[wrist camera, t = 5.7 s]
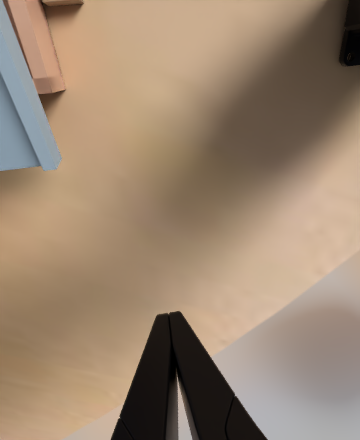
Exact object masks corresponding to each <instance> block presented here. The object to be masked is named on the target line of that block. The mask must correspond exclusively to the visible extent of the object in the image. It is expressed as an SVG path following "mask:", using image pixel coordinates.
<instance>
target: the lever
mask: <svg viewBox="0 0 360 440" xmlns="http://www.w3.org/2000/svg"><path fill="white" fill-rule="evenodd" d="M61 159H62V157H61V155H60V152H59V149H58V147H57V144H56V141H55V139H54V136H53V133H52V131H51V128H50V125H49V123H48V120H47V117H46V115H45V112H44V109H43V107H42V104H41V101H40V99H39V96H38V93H37V91H36V88H35V85H34V83H33V80H32V78H31V75H30V72H29V70H28V67H27V64H26V62H25V59H24V56H23V54H22V51H21V48H20V46H19V43H18V40H17V38H16V35H15V32H14V30H13V27H12V24H11V22H10V19H9V16H8V14H7V11H6V8H5V6H4V3H3V0H0V171H4V170H12V169H20V168H28V167H36V166H42V168H43V171H46V170H54V169H57V167H58V165H59V163H60V161H61Z"/></svg>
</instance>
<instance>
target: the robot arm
mask: <svg viewBox="0 0 360 440" xmlns="http://www.w3.org/2000/svg"><path fill="white" fill-rule="evenodd" d="M349 53H350V54H351V57H350V59H349V60H347V57H348V54H349ZM339 62H340V64H341V65H342V66H354V65H360V0H349V4H348V10H347V15H346V21H345V31H344V36H343V42H342V47H341V52H340V58H339ZM177 377H178V382H179V386H180V390H181V395H182V398H183V403H184V407H185V411H186V415H187V419H188V423H189V427H190V431H191V435H192V439H193V440H268V439H267V438H266V437H265V436H264V434H263V433H262V432H261V430H260V429H259V428H258V427H257V426H256V424H255V422H254V421H253V420H252V418H251V417H250V415H249V414H248V413H247V411H246V410H245V408H244V407H243V405H242V404H241V402H240V401H239V399H238V398H237V397H236V396H235V393H234V392H233V390H232V389H231V387H230V386H229V385H228V383H227V381H226V380H225V378H224V377H223V375H222V374H221V372H220V371H219V370H218V368H217V366H216V365H215V363H214V362H213V360H212V358H211V357H210V355H209V354H208V352H207V351H206V349H205V348H204V346H203V345H202V343H201V342H200V340H199V339H198V337H197V336H196V334H195V333H194V331H193V330H192V328H191V327H190V325H189V324H188V322H187V321H186V319H185V318H184V316H183V315H182V313H181V312H180V311H176V312H170V313H169V314H168V313H164V314H158V315H157V316H156V318H155V321H154V324H153V326H152V329H151V332H150V335H149V337H148V340H147V343H146V345H145V348H144V351H143V354H142V356H141V359H140V362H139V364H138V367H137V370H136V373H135V375H134V378H133V381H132V383H131V386H130V389H129V392H128V394H127V397H126V400H125V403H124V405H123V408H122V411H121V414H120V418H119V419H118V422H117V424H116V427H115V429H114V432H113V435H112V437H111V440H178V391H177V390H178V387H177Z"/></svg>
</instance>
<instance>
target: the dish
mask: <svg viewBox="0 0 360 440" xmlns="http://www.w3.org/2000/svg"><path fill="white" fill-rule="evenodd" d="M3 3H4V6H5V8H6V11H7V14H8V16H9V19H10V22H11V24H12V27H13V30H14V32H15V35H16V38H17V40H18V43H19V46H20V48H21V51H22V54H23V56H24V59H25V62H26V64H27V67H28V70H29V72H30V75H31V78H32V80H33V83H34V85H35V88H36V91H37V93H38V94H46V93H54V92H58V91H61V90H65V89H66V87H65V84H64V80H63V77H62V73H61V69H60V66H59V62H58V58H57V55H56V51H55V48H54V44H53V40H52V37H51V33H50V30H49V26H48V22H47V19H46V15H45V11H44V8H43V4H42V1H41V0H3Z"/></svg>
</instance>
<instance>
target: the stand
mask: <svg viewBox="0 0 360 440" xmlns="http://www.w3.org/2000/svg"><path fill="white" fill-rule="evenodd" d="M42 1H43V3H45V4H46V5H48V6H60V5H72V4H84V3H83V0H42Z"/></svg>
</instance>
